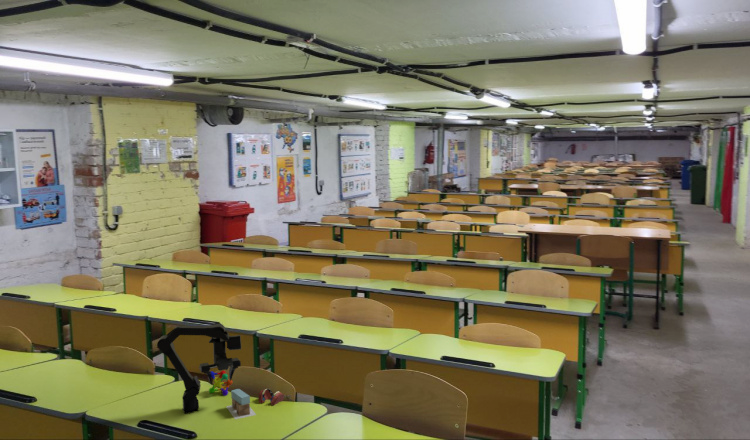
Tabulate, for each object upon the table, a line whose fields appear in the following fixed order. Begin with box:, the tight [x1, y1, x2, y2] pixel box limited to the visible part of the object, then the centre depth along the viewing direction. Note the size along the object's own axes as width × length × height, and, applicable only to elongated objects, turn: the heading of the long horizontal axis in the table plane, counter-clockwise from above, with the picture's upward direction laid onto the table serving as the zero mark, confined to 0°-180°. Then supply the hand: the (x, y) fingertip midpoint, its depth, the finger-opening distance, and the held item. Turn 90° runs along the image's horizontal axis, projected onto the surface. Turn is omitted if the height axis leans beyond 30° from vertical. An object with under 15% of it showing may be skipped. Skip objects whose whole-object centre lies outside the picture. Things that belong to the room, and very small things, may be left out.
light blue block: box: [230, 388, 251, 405], centre depth 280 cm, size 12×4×4 cm, turn 37°
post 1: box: [231, 398, 237, 410], centre depth 284 cm, size 5×5×5 cm
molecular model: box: [208, 370, 234, 397], centre depth 304 cm, size 12×7×12 cm, turn 64°
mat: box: [225, 404, 257, 420], centre depth 281 cm, size 10×17×1 cm, turn 28°
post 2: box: [236, 402, 251, 417], centre depth 277 cm, size 5×5×5 cm
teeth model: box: [258, 388, 285, 406], centre depth 292 cm, size 8×6×12 cm
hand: (220, 382), depth 285 cm, fingers open, 9 cm apart
